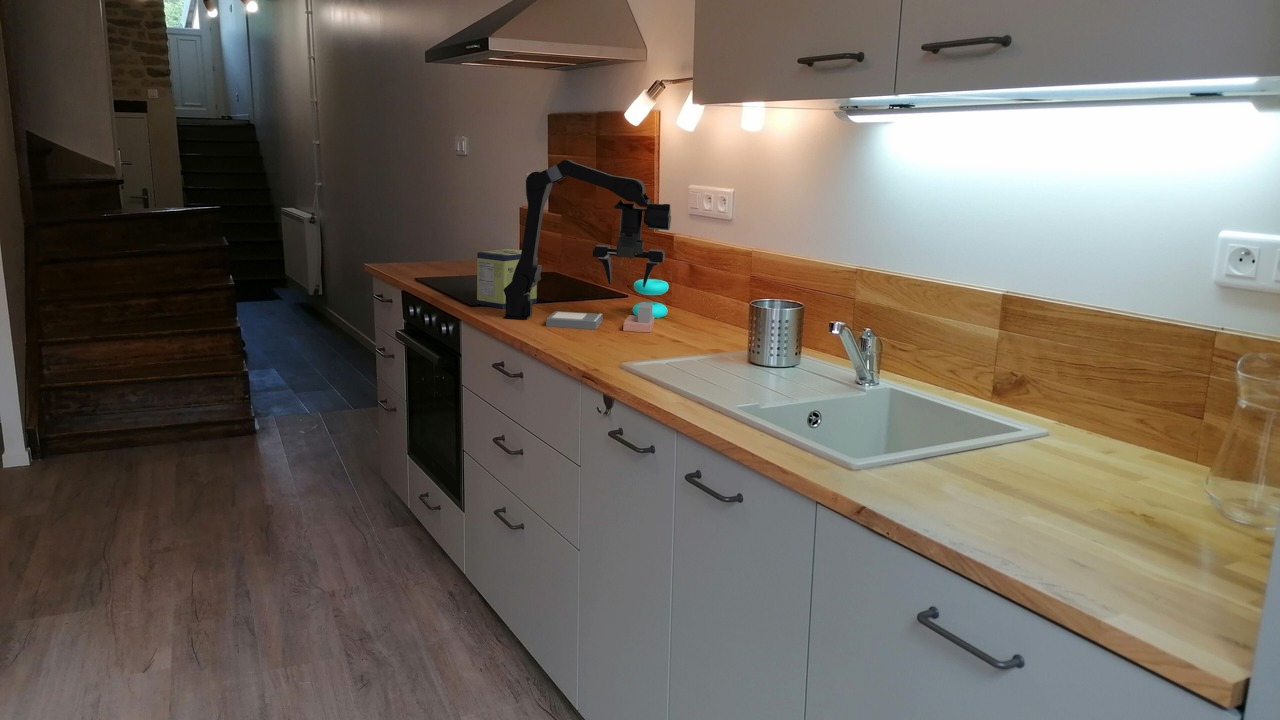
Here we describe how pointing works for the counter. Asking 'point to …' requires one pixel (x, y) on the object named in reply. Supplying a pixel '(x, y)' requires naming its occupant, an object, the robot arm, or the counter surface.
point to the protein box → (497, 276)
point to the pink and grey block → (640, 319)
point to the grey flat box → (574, 320)
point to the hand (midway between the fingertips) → (626, 285)
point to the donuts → (652, 289)
